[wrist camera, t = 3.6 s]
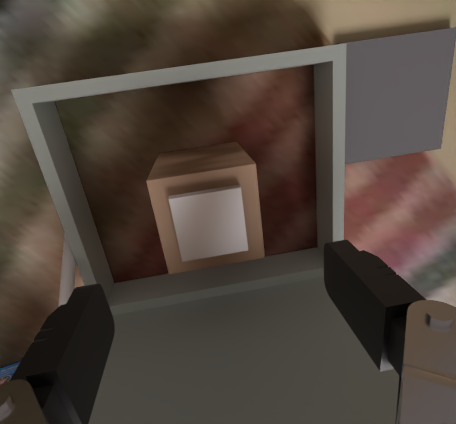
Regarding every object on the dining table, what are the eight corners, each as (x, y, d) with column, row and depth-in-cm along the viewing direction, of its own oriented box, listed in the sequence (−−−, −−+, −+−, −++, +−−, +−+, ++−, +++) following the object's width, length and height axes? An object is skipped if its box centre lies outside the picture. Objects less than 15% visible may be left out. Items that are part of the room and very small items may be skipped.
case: (325, 49, 20) (564, -20, 7) (326, 262, 27) (456, 427, 14) (23, 91, 19) (-323, 96, 6) (100, 303, 25) (8, 524, 13)
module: (236, 141, 22) (257, 165, 15) (244, 212, 24) (266, 262, 17) (159, 153, 22) (144, 183, 15) (174, 223, 24) (168, 279, 17)
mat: (450, 28, 21) (457, 27, 20) (435, 147, 24) (440, 148, 23) (335, 44, 20) (339, 43, 20) (334, 163, 23) (338, 165, 23)
